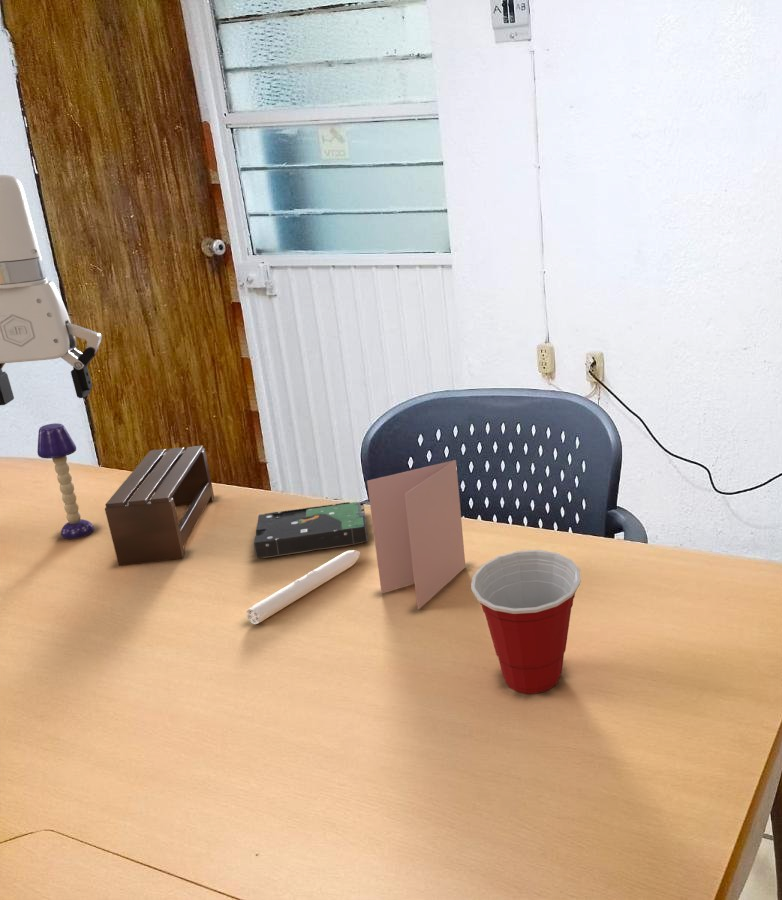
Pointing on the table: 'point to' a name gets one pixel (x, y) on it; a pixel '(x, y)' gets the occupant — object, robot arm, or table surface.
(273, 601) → the marker
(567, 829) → the table surface
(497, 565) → the plastic cup
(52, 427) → the toy lamp
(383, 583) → the greeting card
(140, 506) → the bench
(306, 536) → the disk drive
